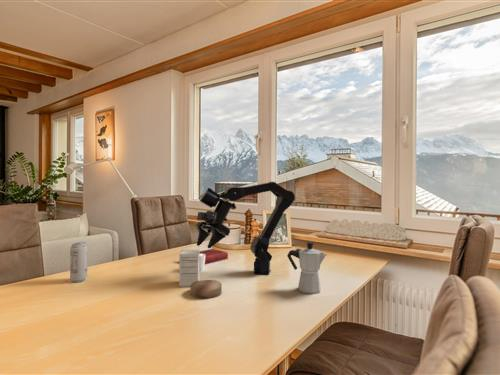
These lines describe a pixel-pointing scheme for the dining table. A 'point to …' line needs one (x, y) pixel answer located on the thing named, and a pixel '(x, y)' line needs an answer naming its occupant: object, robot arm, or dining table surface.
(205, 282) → the walnut pedestal
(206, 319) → the dining table surface
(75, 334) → the dining table surface
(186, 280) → the supplement box
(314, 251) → the coffee maker
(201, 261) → the shot glass
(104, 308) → the dining table surface
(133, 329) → the dining table surface
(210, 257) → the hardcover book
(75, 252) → the energy drink can
